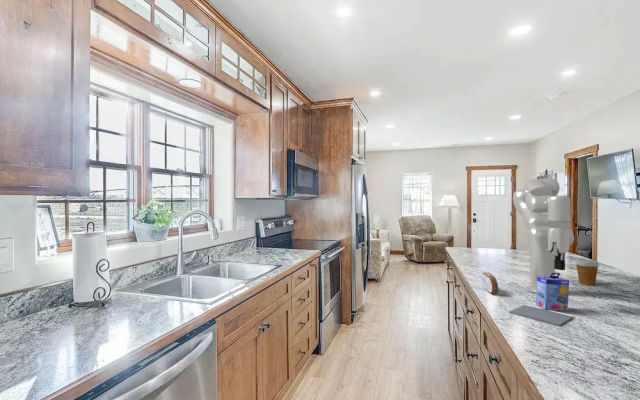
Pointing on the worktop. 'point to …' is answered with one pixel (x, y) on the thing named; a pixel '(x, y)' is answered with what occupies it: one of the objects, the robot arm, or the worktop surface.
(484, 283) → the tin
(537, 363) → the worktop surface
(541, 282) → the ink cartridge box
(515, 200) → the robot arm
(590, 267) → the disposable coffee cup
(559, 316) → the mat
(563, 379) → the worktop surface
